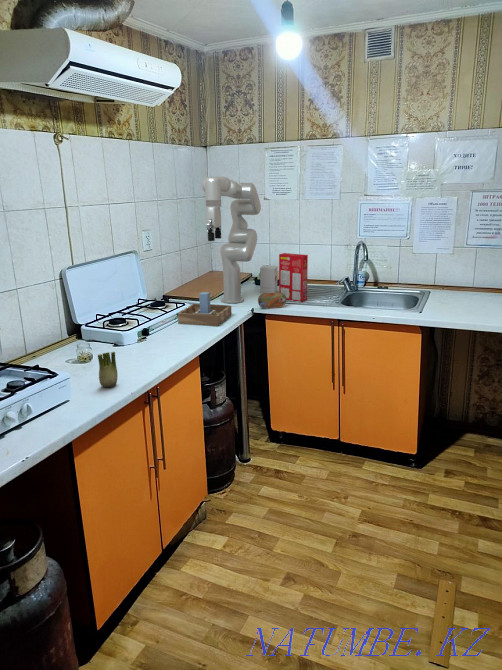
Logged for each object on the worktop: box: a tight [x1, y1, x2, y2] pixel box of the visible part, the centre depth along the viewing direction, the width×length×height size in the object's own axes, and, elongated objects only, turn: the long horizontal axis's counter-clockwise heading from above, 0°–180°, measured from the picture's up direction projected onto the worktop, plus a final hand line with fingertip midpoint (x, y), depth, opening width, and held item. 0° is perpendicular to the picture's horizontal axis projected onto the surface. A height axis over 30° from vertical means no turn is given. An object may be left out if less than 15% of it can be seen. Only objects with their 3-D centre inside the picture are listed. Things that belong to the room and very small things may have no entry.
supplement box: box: [259, 264, 278, 294], centre depth 305 cm, size 9×9×15 cm
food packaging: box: [278, 252, 309, 303], centre depth 283 cm, size 15×5×25 cm, turn 56°
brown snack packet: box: [257, 291, 287, 310], centre depth 270 cm, size 15×3×8 cm, turn 105°
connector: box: [198, 291, 211, 313], centre depth 249 cm, size 4×4×12 cm
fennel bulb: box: [97, 351, 118, 388], centre depth 172 cm, size 6×5×12 cm
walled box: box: [177, 303, 232, 327], centre depth 251 cm, size 20×20×5 cm
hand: (214, 239), depth 256 cm, fingers open, 9 cm apart
